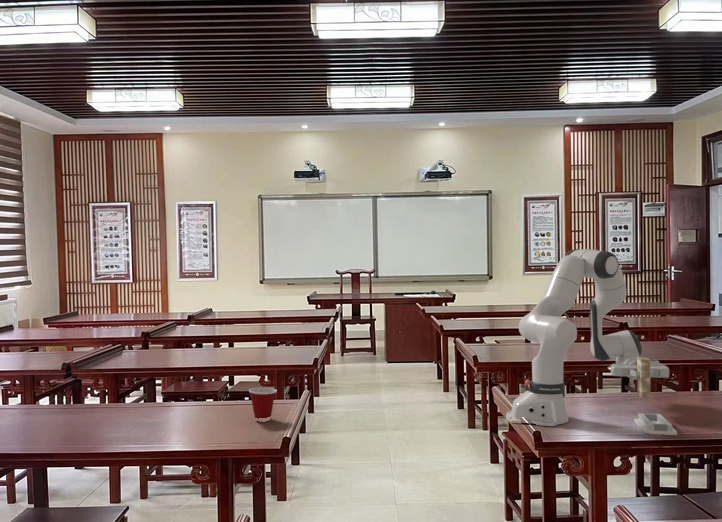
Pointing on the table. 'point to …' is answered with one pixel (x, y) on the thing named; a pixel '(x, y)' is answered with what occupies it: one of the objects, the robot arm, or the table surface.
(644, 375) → the tan wooden block
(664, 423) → the floor track
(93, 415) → the table surface
